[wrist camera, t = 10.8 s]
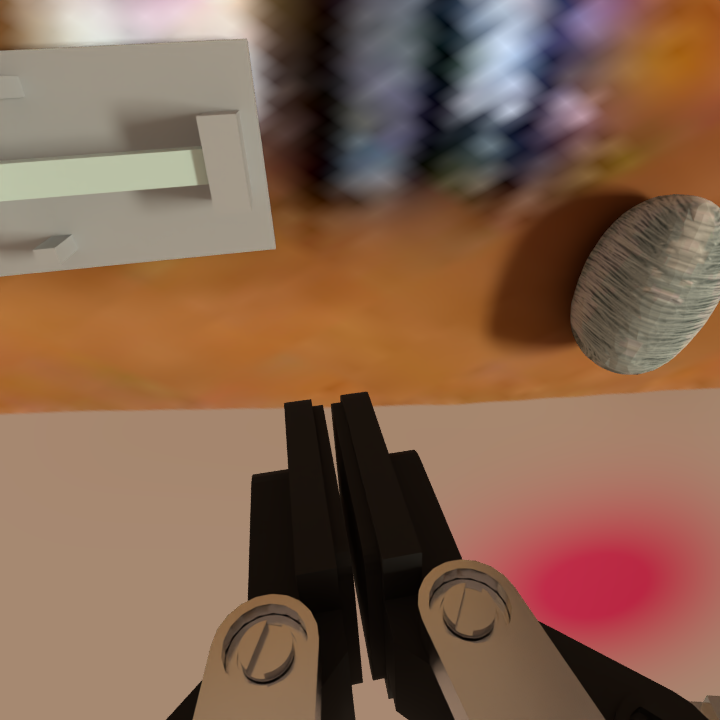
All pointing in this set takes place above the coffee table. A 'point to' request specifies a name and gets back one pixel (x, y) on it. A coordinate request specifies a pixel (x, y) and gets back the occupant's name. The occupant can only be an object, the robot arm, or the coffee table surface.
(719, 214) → the streaked grey egg
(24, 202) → the grey support base
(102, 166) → the pale green crossbeam
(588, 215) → the coffee table surface
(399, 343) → the coffee table surface
